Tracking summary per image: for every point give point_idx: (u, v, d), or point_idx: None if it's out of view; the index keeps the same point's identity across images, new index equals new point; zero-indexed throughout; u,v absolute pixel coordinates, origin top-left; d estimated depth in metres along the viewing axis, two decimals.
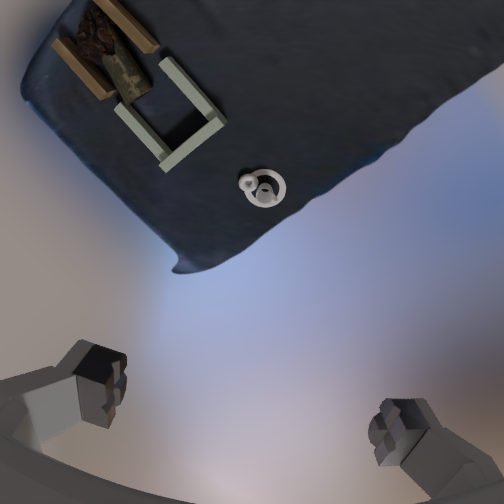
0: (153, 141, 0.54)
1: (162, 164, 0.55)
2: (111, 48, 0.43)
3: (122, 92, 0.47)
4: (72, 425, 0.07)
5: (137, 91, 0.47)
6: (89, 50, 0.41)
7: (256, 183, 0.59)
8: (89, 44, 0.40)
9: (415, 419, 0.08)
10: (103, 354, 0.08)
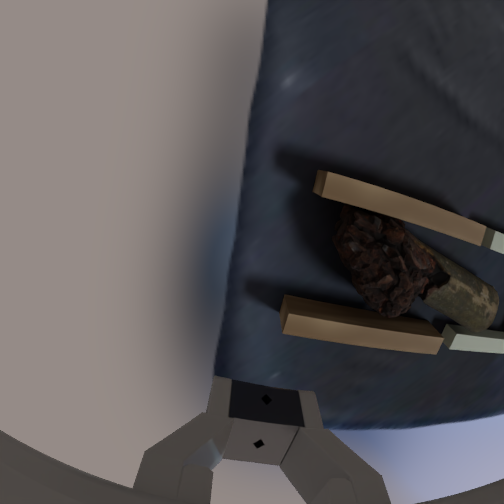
0: None
1: None
2: (435, 272, 0.26)
3: (475, 322, 0.27)
4: (214, 466, 0.07)
5: (493, 306, 0.26)
6: (410, 298, 0.24)
7: None
8: (408, 289, 0.24)
9: (287, 413, 0.07)
10: (247, 389, 0.08)
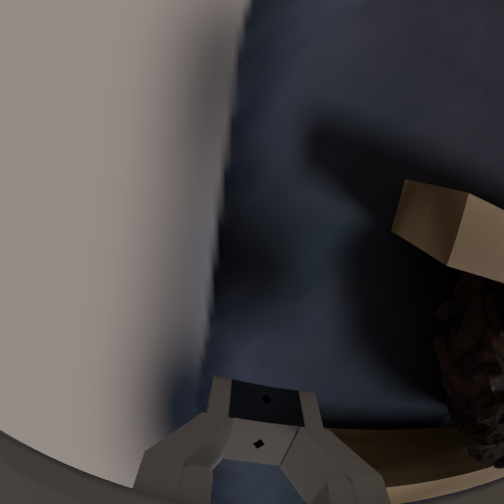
0: None
1: None
2: None
3: None
4: (214, 466, 0.07)
5: None
6: None
7: None
8: None
9: (287, 412, 0.07)
10: (247, 389, 0.08)
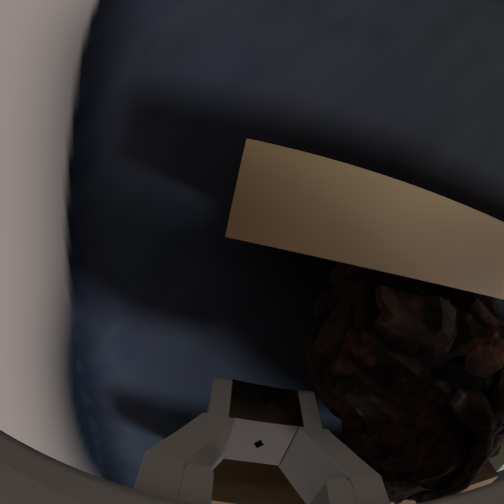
0: None
1: None
2: None
3: None
4: (215, 466, 0.07)
5: None
6: None
7: None
8: (478, 465, 0.07)
9: (286, 412, 0.07)
10: (248, 390, 0.08)
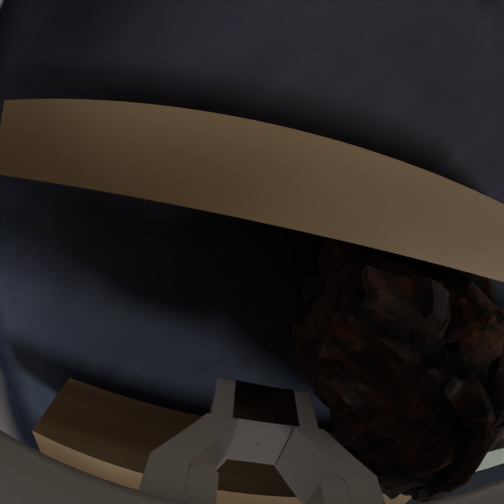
0: None
1: None
2: None
3: None
4: (218, 466, 0.07)
5: None
6: None
7: None
8: (477, 459, 0.06)
9: (281, 412, 0.07)
10: (251, 390, 0.08)
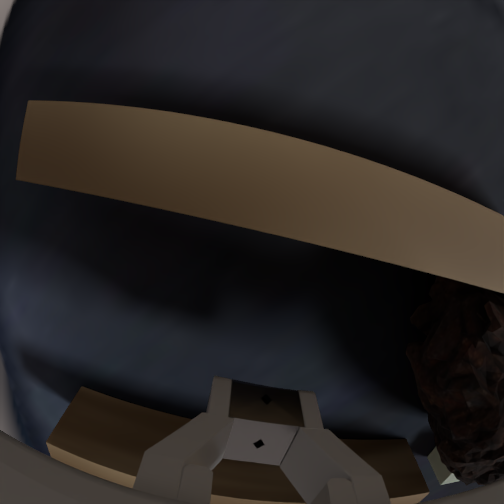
0: None
1: None
2: None
3: None
4: (214, 466, 0.07)
5: None
6: None
7: None
8: None
9: (287, 413, 0.07)
10: (247, 389, 0.08)
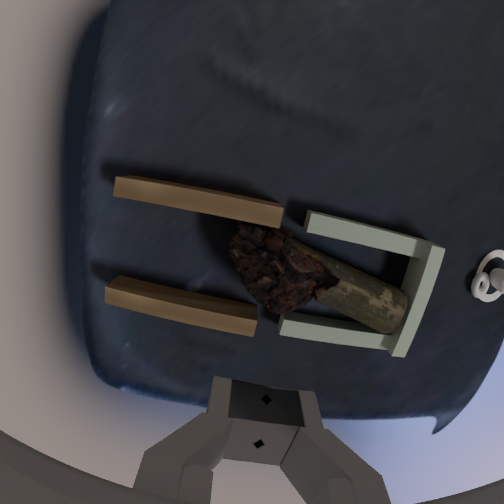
0: (364, 334, 0.36)
1: (396, 351, 0.35)
2: (323, 275, 0.32)
3: (378, 323, 0.33)
4: (214, 466, 0.07)
5: (399, 309, 0.33)
6: (293, 298, 0.31)
7: (488, 278, 0.35)
8: (289, 290, 0.31)
9: (287, 412, 0.07)
10: (247, 389, 0.08)
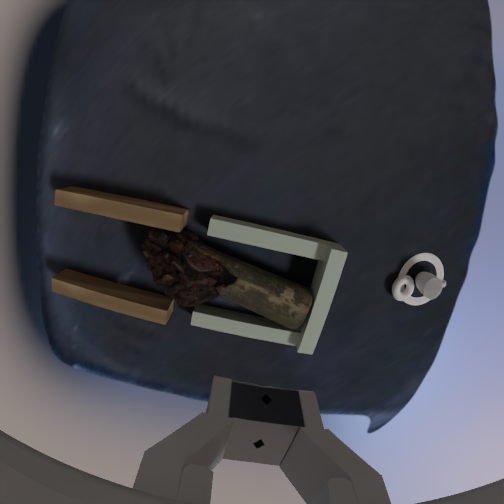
0: (270, 329, 0.40)
1: (302, 348, 0.39)
2: (223, 274, 0.36)
3: (281, 320, 0.38)
4: (214, 466, 0.07)
5: (302, 307, 0.37)
6: (194, 293, 0.35)
7: (412, 282, 0.40)
8: (189, 286, 0.35)
9: (287, 412, 0.07)
10: (247, 390, 0.08)
